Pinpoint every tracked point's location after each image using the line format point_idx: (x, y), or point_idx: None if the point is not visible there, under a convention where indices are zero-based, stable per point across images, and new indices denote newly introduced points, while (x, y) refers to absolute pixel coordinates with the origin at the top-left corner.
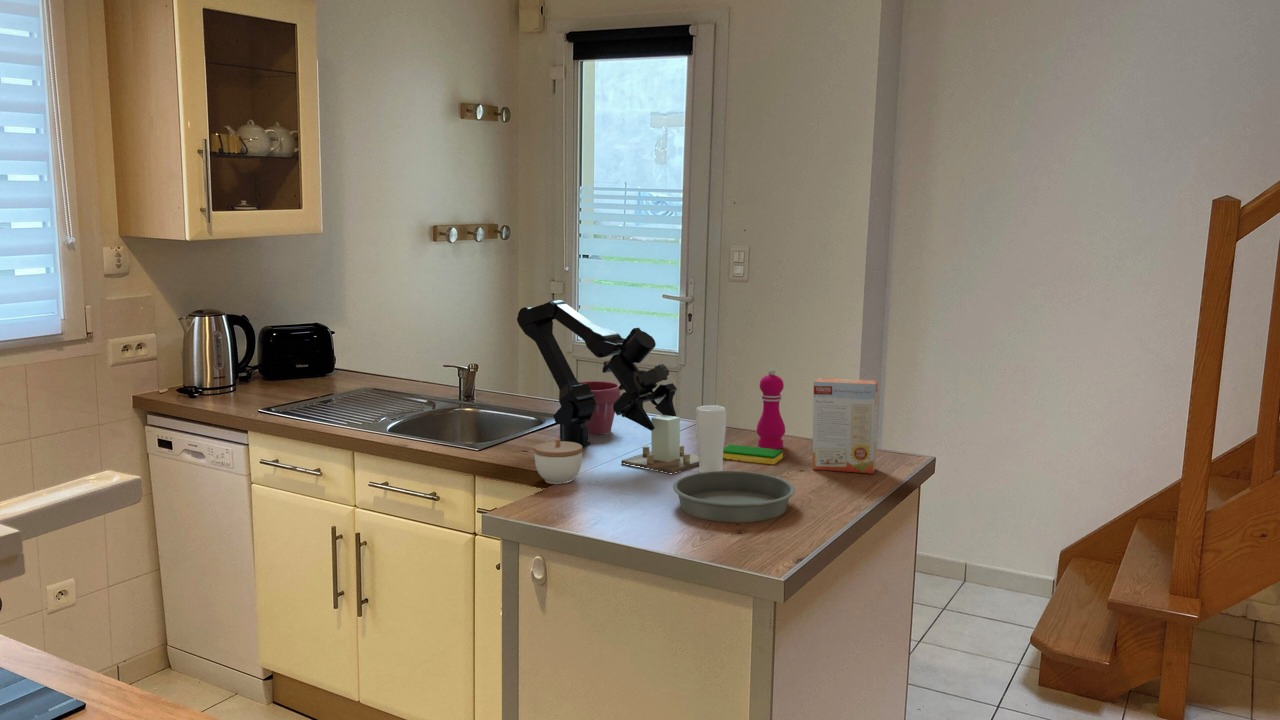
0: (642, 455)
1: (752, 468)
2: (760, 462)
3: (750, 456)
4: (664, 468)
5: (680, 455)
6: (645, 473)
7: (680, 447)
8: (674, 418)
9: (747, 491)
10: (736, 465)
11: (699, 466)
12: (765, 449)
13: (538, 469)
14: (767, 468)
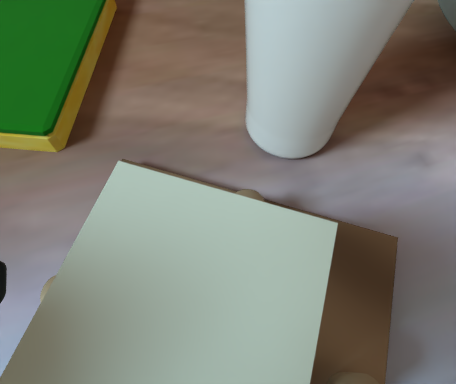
0: None
1: (184, 38)
2: (106, 32)
3: (90, 42)
4: (391, 282)
5: None
6: (443, 377)
7: None
8: (205, 192)
9: (442, 3)
10: (159, 81)
11: (321, 141)
12: (15, 8)
13: None
14: (171, 9)
